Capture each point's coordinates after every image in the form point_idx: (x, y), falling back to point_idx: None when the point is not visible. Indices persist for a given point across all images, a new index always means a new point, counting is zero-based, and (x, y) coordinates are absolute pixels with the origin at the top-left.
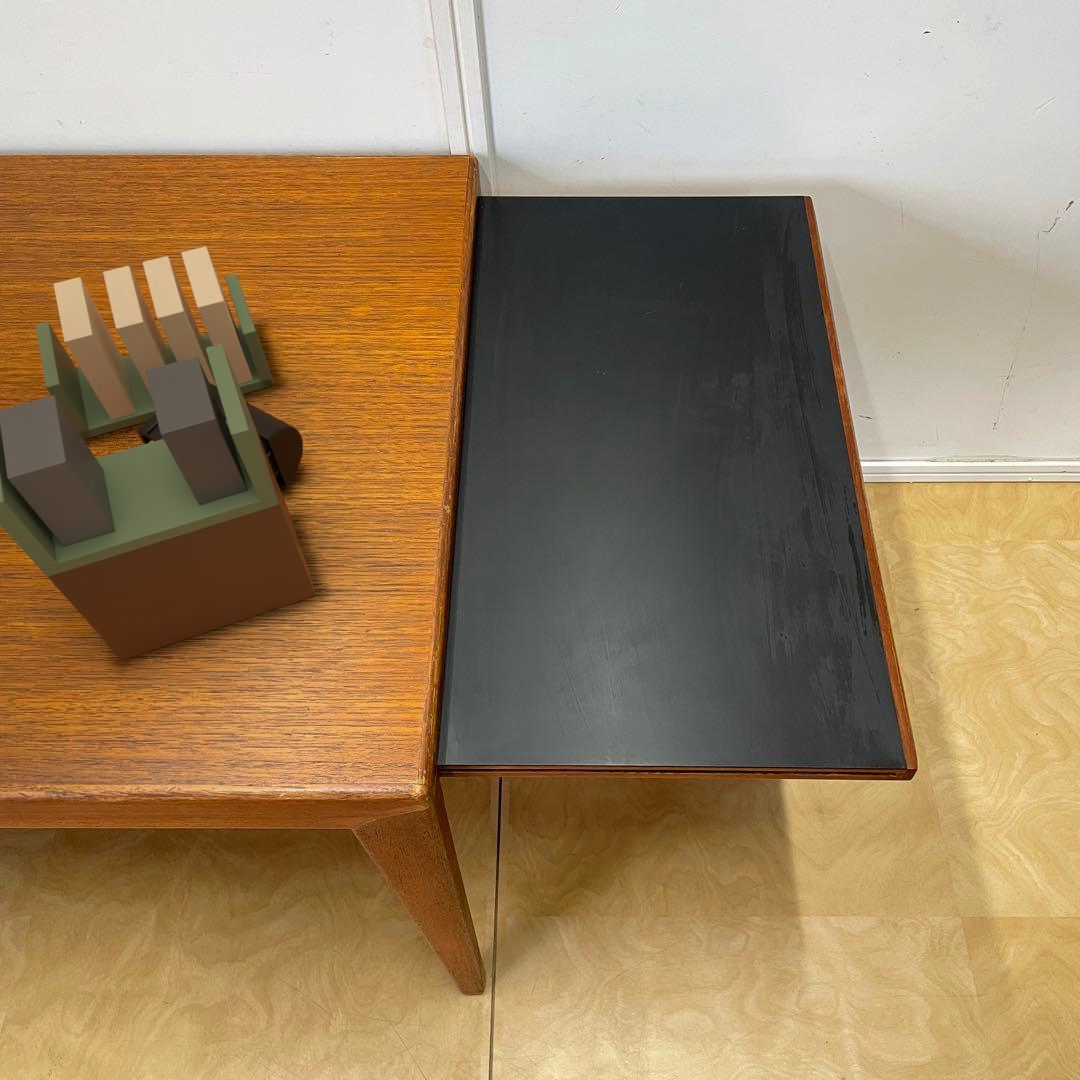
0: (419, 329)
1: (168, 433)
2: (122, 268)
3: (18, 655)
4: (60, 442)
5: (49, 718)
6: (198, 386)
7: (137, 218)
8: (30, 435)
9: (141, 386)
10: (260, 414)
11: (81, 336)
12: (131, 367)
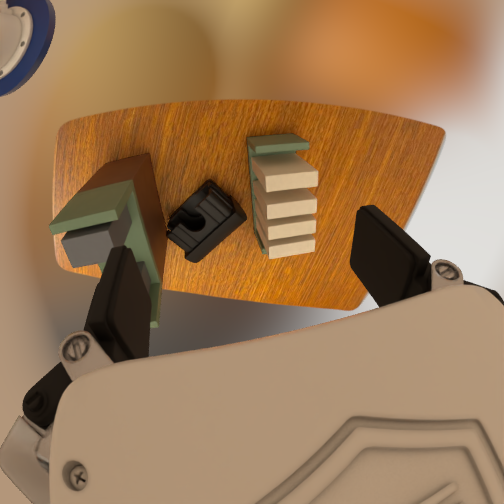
0: (267, 291)
1: None
2: (315, 209)
3: (116, 114)
4: (84, 265)
5: (83, 134)
6: None
7: (389, 178)
8: (88, 250)
9: None
10: (204, 253)
11: (266, 186)
12: None
